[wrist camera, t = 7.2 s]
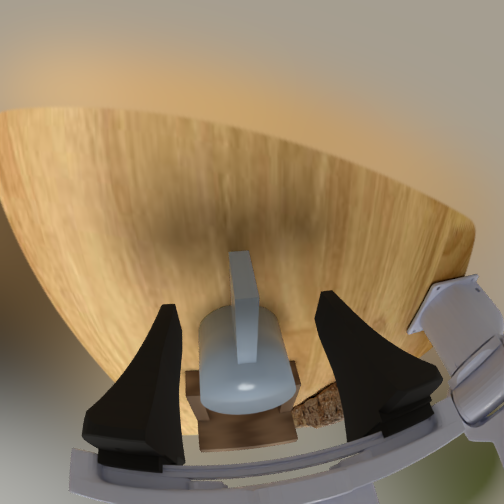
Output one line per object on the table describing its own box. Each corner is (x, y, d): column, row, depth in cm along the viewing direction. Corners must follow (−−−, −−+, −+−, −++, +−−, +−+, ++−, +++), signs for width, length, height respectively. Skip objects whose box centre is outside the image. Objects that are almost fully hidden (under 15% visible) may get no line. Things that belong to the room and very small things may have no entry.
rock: (352, 363, 31) (368, 400, 26) (390, 369, 35) (404, 398, 30) (281, 412, 37) (288, 444, 32) (324, 413, 41) (333, 440, 37)
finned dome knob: (289, 234, 18) (322, 305, 13) (275, 349, 25) (289, 408, 20) (181, 241, 17) (173, 318, 12) (203, 356, 25) (206, 417, 19)
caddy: (294, 360, 27) (310, 418, 21) (284, 395, 32) (296, 441, 27) (185, 371, 26) (186, 432, 20) (198, 404, 31) (201, 452, 25)
